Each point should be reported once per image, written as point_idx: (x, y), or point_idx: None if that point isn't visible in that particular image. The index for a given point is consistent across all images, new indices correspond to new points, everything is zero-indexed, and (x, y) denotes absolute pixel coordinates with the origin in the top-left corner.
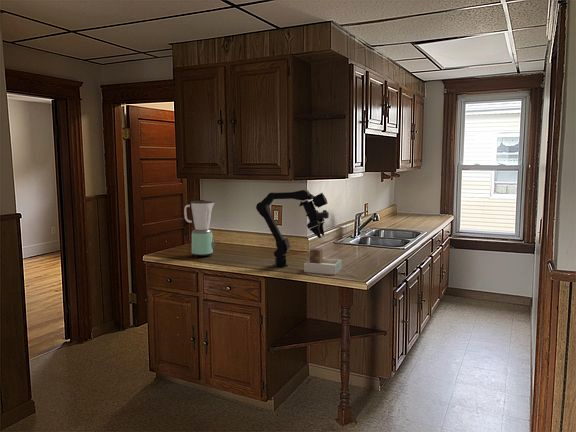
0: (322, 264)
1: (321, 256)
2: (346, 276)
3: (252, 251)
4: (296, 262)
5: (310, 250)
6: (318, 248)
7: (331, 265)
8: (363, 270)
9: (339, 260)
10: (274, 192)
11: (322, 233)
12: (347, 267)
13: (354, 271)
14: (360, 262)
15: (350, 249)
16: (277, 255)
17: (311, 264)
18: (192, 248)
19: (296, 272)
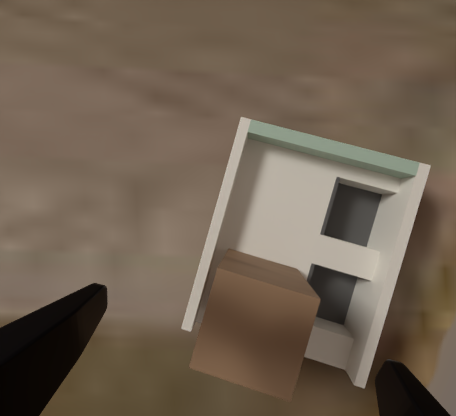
0: (402, 258)
1: (254, 265)
2: (437, 113)
3: None
4: (98, 391)
5: (293, 387)
6: (211, 307)
7: (419, 195)
8: (280, 8)
9: (263, 132)
10: None
11: (84, 327)
12: (209, 97)
13: (308, 61)
14: (77, 16)
15: None
16: None
17: (376, 333)
18: None
19: (356, 398)
